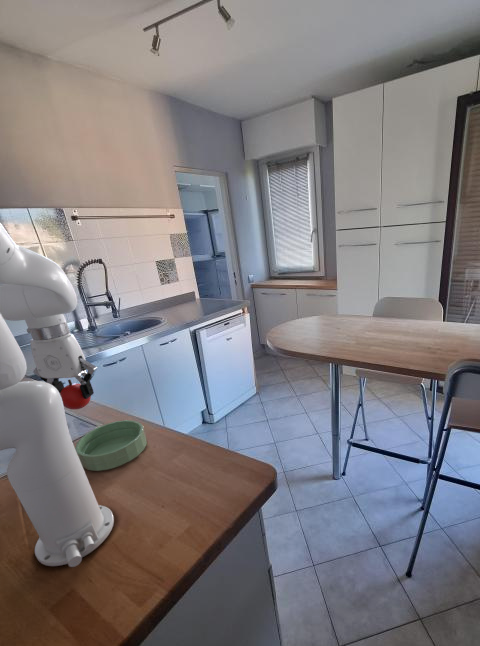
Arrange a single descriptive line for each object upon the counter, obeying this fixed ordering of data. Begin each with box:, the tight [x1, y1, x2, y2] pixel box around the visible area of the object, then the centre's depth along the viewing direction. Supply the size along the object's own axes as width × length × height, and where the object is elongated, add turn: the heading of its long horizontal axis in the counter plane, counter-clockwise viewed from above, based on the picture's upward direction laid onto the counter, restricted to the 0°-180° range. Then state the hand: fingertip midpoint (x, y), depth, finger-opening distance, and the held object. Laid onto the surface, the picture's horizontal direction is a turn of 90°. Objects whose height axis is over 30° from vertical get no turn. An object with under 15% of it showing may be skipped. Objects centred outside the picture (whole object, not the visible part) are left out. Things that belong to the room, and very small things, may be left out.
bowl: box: [75, 419, 148, 472], centre depth 85 cm, size 15×15×5 cm
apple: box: [60, 379, 92, 411], centre depth 87 cm, size 7×7×8 cm
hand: (75, 396), depth 87 cm, fingers closed on apple, 6 cm apart
